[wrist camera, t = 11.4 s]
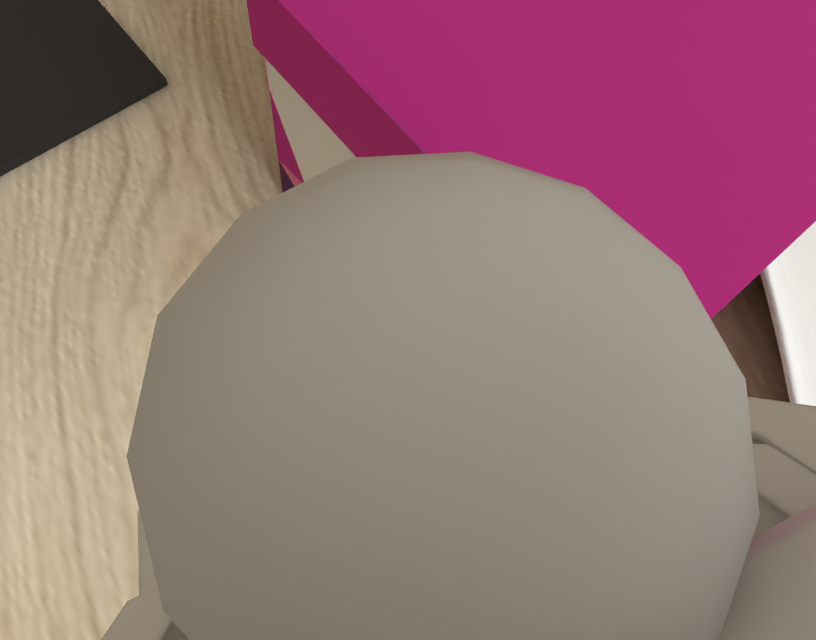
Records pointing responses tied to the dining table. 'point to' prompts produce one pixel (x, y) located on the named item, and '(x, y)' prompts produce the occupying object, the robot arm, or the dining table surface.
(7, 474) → the dining table surface
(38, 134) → the black square mat
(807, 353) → the plate
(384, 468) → the salt shaker
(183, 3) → the dining table surface
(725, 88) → the decorative box
